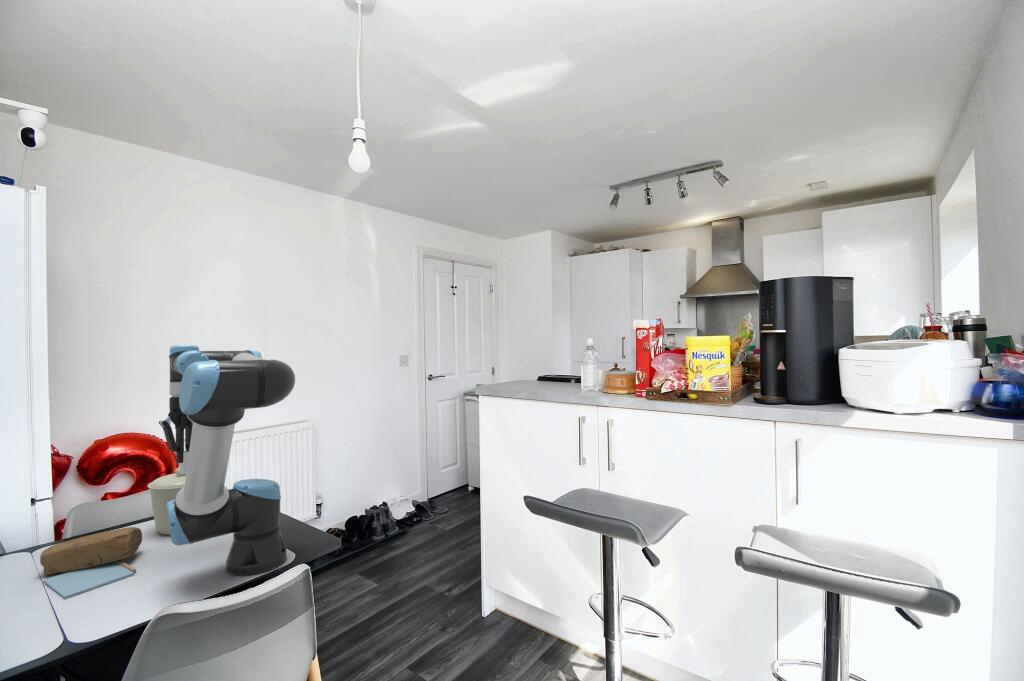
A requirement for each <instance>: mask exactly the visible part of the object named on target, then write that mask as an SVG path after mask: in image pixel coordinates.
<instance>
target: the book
mask: <svg viewBox="0 0 1024 681" xmlns="http://www.w3.org/2000/svg"><path fill="white" fill-rule="evenodd" d="M135 574H137V569H136V568H134V567H133V566H131V565H129V564H128V563H126V562H124V561H122V559H121V560H118V561H114V562H110V563H106V564H101V565H97V566H93V567H88V568H84V569H79V570H73V571H69V572H63V573H60V574H57V575H55V576H52V577H49V578H45V579H43V580H42V583H43V582H44V583H46V584H47V585H48V586H49V587H48V586H47V585H46V584H45V585H46V586H47V587H48V588H49V589H51V588H52V589H53V590H54V591H53V590H52V589H51V590H52V591H53V592H55V593H56V594H57V593H58V594H59V595H58V594H57V595H58V596H59V597H61V598H62V599H63V600H66V599H69V597H70V598H72V596H73V597H75V596H78V595H81V594H83V593H84V594H85V593H87V592H89V591H90V592H91V591H92V590H95V588H96V589H98V588H100V587H104V586H107V585H110V584H113V583H116V582H119V581H121V580H124V579H126V578H129V577H133V576H135ZM44 583H43V584H44Z"/></svg>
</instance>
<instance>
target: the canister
mask: <svg viewBox="0 0 1024 681" xmlns="http://www.w3.org/2000/svg"><path fill="white" fill-rule="evenodd" d="M185 479H186V474H182V473H180V466H179V467H177V468H175V471H174V473H171V474H167V475H162V476H160V477H158V478H156V479H154V480H153V481H152V482H149V483H148V484H147V488H148V489H150V491H149V492H150V498H151V505H152V512H153V513H152V514H153V518H154V519H153V520H154V526H155V529H156V531H157V532H158V533H159V534H161V535H166V536H171V533H170V527H169V520H168V513H167V502H168V501H171V500H172V499H176V496H177V493H178V492H179V491H180V490H181V489H182V488H183V487H184V486H185Z"/></svg>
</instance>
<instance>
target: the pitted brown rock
mask: <svg viewBox="0 0 1024 681" xmlns="http://www.w3.org/2000/svg"><path fill="white" fill-rule="evenodd" d="M142 542H143V533H142V529H141V528H140V527H135V526H129V527H121V528H116V529H111V530H108V531H102V532H96V533H93V534H89V535H86V536H80V537H77V538H73V539H70V540H67V541H63V542H60V543H59V542H58V543H55V544H53V545H51V546H49V547H47V548H46V549H44V550H42V552H41V553H40V556H39V558H40V559H39V560H40V561H39V562H40V566H41V567H43V574H44V575H49V576H50V575H53V574H58V573H60V574H64V573H67V572H71V571H74V570H79V569H84V568H88V567H93V566H97V565H101V564H106V563H110V562H114V561H118V560H121V561H122V560H124V559H128V558H130V557H132V556H134V555H135V553H137V551H138V550H139V548H140V546H141V544H142Z"/></svg>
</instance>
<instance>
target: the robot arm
mask: <svg viewBox="0 0 1024 681" xmlns="http://www.w3.org/2000/svg"><path fill="white" fill-rule="evenodd" d="M168 359H169V395H170V396H171V397H169V399H168V400H169V402H168V403H169V412H168V414H167V417H166V418H164V419H163V420H160V421H159V422H158V424H159V426H160V427H161V428H162V430H163V433H164V437H165V440H166V444H167V447H168V450H169V451H170V452H176V463H177V464H179V467H180V473H182V474H186V479H185V486H184V487H183V488H182V489H181V490H180V491H179V492H178V493H177V496H176V499H172V500H171V501H168V502H167V513H168V520H169V527H170V533H171V535H170V538H171V542H172V544H173V545H174V546H176V547H177V546H184V545H191V544H195V543H198V542H201V541H206V540H210V539H215V538H218V537H222V536H226V535H229V534H233V540H232V543H231V546H230V549H229V551H228V556H227V557H226V562H225V570H226V572H227V573H228V574H230V575H233V576H252V575H258V574H262V573H265V571H266V572H268V571H267V570H269V571H271V570H273V569H272V568H274V567H276V568H278V567H279V566H281V565H282V564H284V563H285V562H286V560H287V557H288V555H287V554H288V551H287V550H288V549H287V547H286V544H285V542H284V538H283V536H282V533H281V499H282V498H281V497H282V496H281V488H280V487H281V486H280V484H279V482H276V481H275V480H272V479H265V478H248V479H241V480H237V481H235V482H234V484H233V486H232V488H230V489H228V487H227V486H226V485H225V484H226V478H227V473H228V472H227V471H228V466H229V461H230V454H231V449H232V445H233V444H232V443H233V437H234V432H235V425H236V424H238V423H239V422H240V421H241V420H242V419H243V418H244V415H245V411H246V410H248V409H249V410H250V409H259V408H266V407H270V406H274V405H276V404H278V403H279V402H282V401H283V400H285V399H286V398H287V397H288V396H289V395H290V394H291V392H292V391H293V389H294V386H295V384H296V376H295V372H294V370H293V368H292V367H291V366H290V365H289V364H287V363H285V362H283V361H281V360H278V359H266V358H263V356H262V353H261V352H260V351H258V350H250V349H248V350H247V349H246V350H200V348H199V345H194V344H189V345H187V344H185V345H183V344H181V345H180V344H179V345H177V344H176V345H171V346H170V347H169V355H168ZM171 423H172V424H173V425H174V429H175V435H174V433H173V432H174V431H173V429H172V428H173V427H172V424H171ZM284 561H285V562H284ZM283 562H284V563H283ZM278 565H279V566H278ZM277 566H278V567H277ZM270 569H271V570H270ZM274 569H275V568H274ZM261 572H262V573H261Z"/></svg>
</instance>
